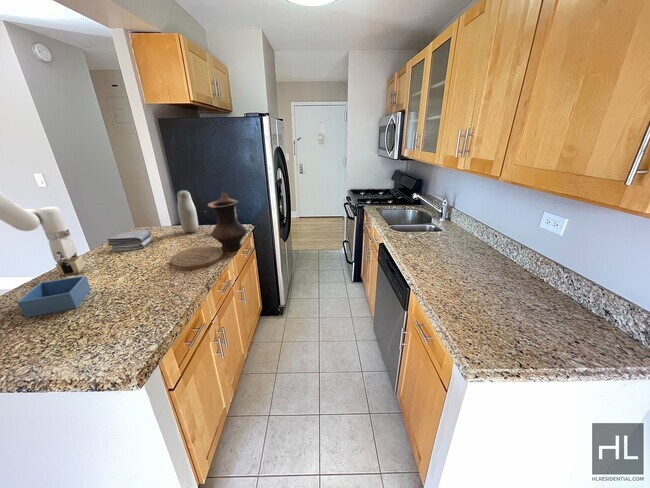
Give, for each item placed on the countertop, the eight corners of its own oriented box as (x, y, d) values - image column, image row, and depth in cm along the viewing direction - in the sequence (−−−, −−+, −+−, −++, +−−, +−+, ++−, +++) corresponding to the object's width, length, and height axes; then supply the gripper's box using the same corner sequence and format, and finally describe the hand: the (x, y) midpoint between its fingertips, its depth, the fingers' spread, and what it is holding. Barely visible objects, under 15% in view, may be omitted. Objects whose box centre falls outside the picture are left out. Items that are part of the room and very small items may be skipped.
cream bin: (60, 275, 119) (55, 264, 117) (67, 269, 125) (62, 258, 123) (79, 272, 122) (75, 262, 120) (85, 266, 128) (81, 256, 126)
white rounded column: (180, 232, 173) (170, 190, 163) (194, 228, 181) (186, 188, 170) (188, 235, 168) (178, 192, 157) (202, 231, 176) (194, 189, 165)
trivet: (193, 247, 149) (192, 244, 149) (232, 250, 145) (232, 247, 144) (159, 267, 127) (158, 263, 126) (204, 271, 122) (203, 268, 121)
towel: (144, 249, 147) (141, 236, 144) (107, 252, 143) (102, 239, 140) (154, 239, 161) (150, 228, 158) (120, 242, 157) (116, 230, 154)
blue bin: (25, 318, 91) (16, 302, 88) (46, 297, 103) (39, 282, 101) (76, 308, 96) (69, 293, 94) (91, 289, 108) (85, 275, 106)
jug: (249, 252, 142) (242, 198, 131) (213, 256, 137) (202, 201, 126) (248, 239, 161) (242, 191, 150) (216, 242, 156) (207, 193, 145)
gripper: (57, 229, 123) (71, 263, 129) (36, 242, 108) (53, 279, 114) (77, 227, 125) (89, 261, 132) (59, 239, 110) (74, 276, 117)
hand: (72, 269), depth 123 cm, fingers closed on cream bin, 7 cm apart
